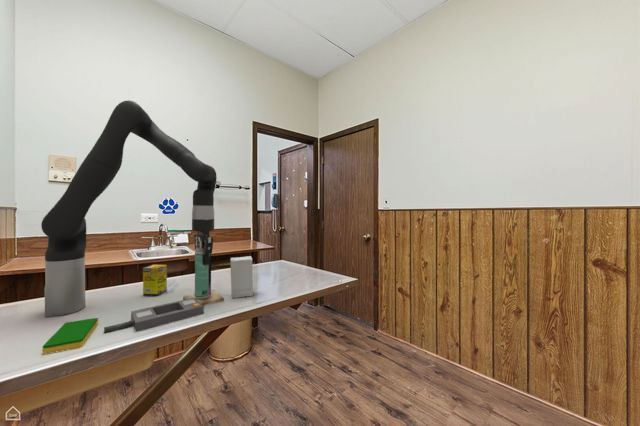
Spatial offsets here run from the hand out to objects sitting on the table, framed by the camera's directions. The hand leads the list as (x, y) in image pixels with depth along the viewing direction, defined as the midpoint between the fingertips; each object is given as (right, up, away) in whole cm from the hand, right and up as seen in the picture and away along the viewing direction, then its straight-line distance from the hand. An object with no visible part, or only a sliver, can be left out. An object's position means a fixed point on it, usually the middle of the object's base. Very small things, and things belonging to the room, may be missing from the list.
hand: (203, 263), depth 94 cm
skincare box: (+13, -14, +6) cm, 20 cm away
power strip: (-7, -14, -16) cm, 23 cm away
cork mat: (0, -14, 0) cm, 14 cm away
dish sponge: (-22, -15, -27) cm, 38 cm away
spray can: (0, -13, 0) cm, 13 cm away
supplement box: (-22, -14, +7) cm, 27 cm away
